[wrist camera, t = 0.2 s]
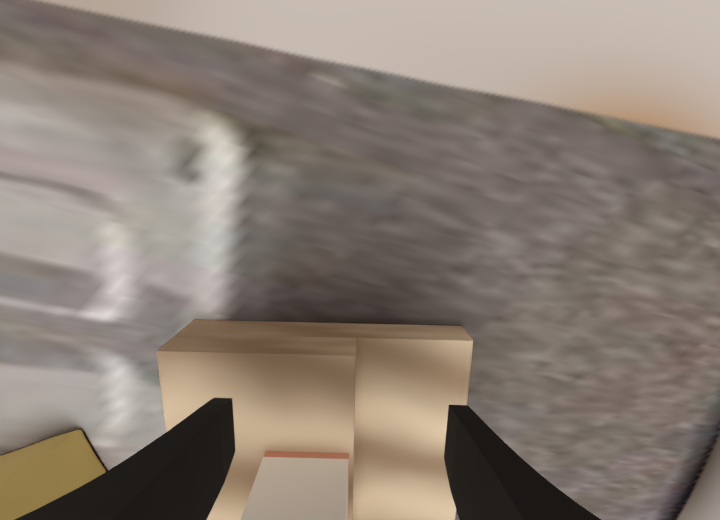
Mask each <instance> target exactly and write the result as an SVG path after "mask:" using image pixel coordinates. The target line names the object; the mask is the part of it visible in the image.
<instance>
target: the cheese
mask: <svg viewBox="0 0 720 520" xmlns="http://www.w3.org/2000/svg"><path fill="white" fill-rule="evenodd" d="M105 472H106V470H105V469H104V467H103V466H102V464H101V463H100V461H99V460H98V458H97V457H96V455H95V453H94V452H93V450H92V448H91V447H90V445H89V443H88V442H87V440H86V438H85V436H84V434H83V432H82V430H75V431H72V432H68V433H65V434H61V435H58V436H55V437H52V438H49V439H46V440H43V441H41V442H38V443H35V444H33V445H30V446H27V447H25V448H22V449H19V450H16V451H14V452H11V453H8V454H4V455H1V456H0V520H15V519H17V518H19V517H21V516H23V515H25V514H28V513H30V512H32V511H34V510H36V509H38V508H40V507H42V506H44V505H46V504H48V503H50V502H52V501H54V500H56V499H58V498H59V497H61V496H63V495H65V494H67V493H69V492H71V491H73V490H75V489H77V488H79V487H81V486H83V485H84V484H86V483H88V482H90V481H91V480H93V479H95V478H97V477H98V476H100V475H102V474H104V473H105Z"/></svg>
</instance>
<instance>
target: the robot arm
mask: <svg viewBox="0 0 720 520" xmlns="http://www.w3.org/2000/svg"><path fill="white" fill-rule="evenodd" d="M234 454H235V435H234V419H233V403H232V398H213V399H211V400H210V401H208V402H207V403H205V404H204V405H203V406H201V407H200V408H199V409H197V410H196V411H195V412H193V413H192V414H191V415H189V416H188V417H187V418H185V419H184V420H183V421H181V422H180V423H178V424H177V425H176V426H174V427H173V428H172V429H170V430H169V431H167V432H166V433H165V434H163V435H162V436H161V437H159V438H158V439H156V440H155V441H153V442H152V443H150V444H149V445H147V446H146V447H144V448H143V449H141V450H140V451H138V452H137V453H135V454H134V455H133V456H131V457H130V458H128V459H126V460H125V461H123V462H122V463H120V464H119V465H117V466H115V467H114V468H112V469H110V470H109V471H107V472H105V473H104V474H102V475H100V476H98V477H97V478H95V479H93V480H91V481H90V482H88V483H86V484H84V485H83V486H81V487H79V488H77V489H75V490H73V491H71V492H69V493H67V494H65V495H63V496H61V497H59V498H58V499H56V500H54V501H52V502H50V503H48V504H46V505H44V506H42V507H40V508H38V509H36V510H34V511H32V512H30V513H28V514H25V515H23V516H21V517H19V518H17V519H15V520H207V518H208V516H209V514H210V512H211V510H212V508H213V505H214V503H215V501H216V499H217V497H218V495H219V493H220V491H221V489H222V487H223V485H224V482H225V479H226V477H227V474H228V471H229V469H230V466H231V463H232V460H233V457H234ZM444 461H445V466H446V471H447V476H448V481H449V485H450V490H451V493H452V497H453V500H454V503H455V506H456V509H457V512H458V516H459V519H460V520H601V519H599V518H598V517H596V516H595V515H593V514H592V513H590V512H589V511H587V510H586V509H585V508H583V507H582V506H580V505H579V504H577V503H576V502H575V501H573V500H572V499H571V498H569V497H568V496H567V495H565V494H564V493H563V492H561V491H560V490H559V489H558V488H556V487H555V486H554V485H552V484H551V483H550V482H549V481H547V480H546V479H545V478H544V477H542V476H541V475H540V474H539V473H538V472H537V471H535V470H534V469H533V468H532V467H531V466H530V465H528V464H527V463H526V462H525V461H524V460H523V459H522V458H521V457H519V456H518V455H517V454H516V453H515V452H514V451H513V450H512V449H511V448H510V447H509V446H508V445H507V444H505V443H504V442H503V441H502V440H501V439H500V438H499V437H498V436H497V435H496V434H495V433H494V432H493V431H492V430H491V429H490V428H489V427H488V426H487V425H486V424H485V423H484V422H483V421H482V420H481V419H480V418H479V417H478V415H477V414H476V413H475V412H474V411H473V410H472V409H471V408H470V407H469V406H468V405H449V408H448V419H447V430H446V440H445V451H444Z"/></svg>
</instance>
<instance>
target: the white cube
mask: <svg viewBox="0 0 720 520" xmlns="http://www.w3.org/2000/svg"><path fill="white" fill-rule="evenodd" d="M348 476H349V453H322V452H284V451H265V453H264V456H263V459H262V462H261V464H260V467H259V470H258V473H257V475H256V478H255V481H254V484H253V486H252V489H251V492H250V495H249V497H248V500H247V503H246V506H245V508H244V511H243V514H242V517H241V519H240V520H348Z"/></svg>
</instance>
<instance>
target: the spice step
mask: <svg viewBox="0 0 720 520" xmlns="http://www.w3.org/2000/svg"><path fill="white" fill-rule="evenodd" d="M472 347H473V340H472V338H471V337H470V335H469V334H468V333H467V331H466V330H465V328H464V327H463V326H441V325H399V324H356V323H313V322H270V321H227V320H193V321H192V322H191V323H190V324H189V325H187V326H186V327H185V328H184V329H183V330H181V331H180V332H179V333H178V334H176V335H175V336H174V337H173V338H172V339H170V340H169V341H168V342H167V343H165V344H164V345H163V346H162V347H161V348H159V349H158V350H157V351H156V353H157V361H158V369H159V377H160V385H161V394H162V402H163V410H164V418H165V426H166V432H167V431H169V430H170V429H172V428H173V427H174V426H176V425H177V424H178V423H180V422H181V421H183V420H184V419H185V418H187V417H188V416H189V415H191V414H192V413H193V412H195V411H196V410H197V409H199V408H200V407H201V406H203V405H204V404H205V403H207V402H208V401H210V400H211V399H213V398H232V403H233V419H234V435H235V454H234V457H233V460H232V463H231V466H230V469H229V471H228V474H227V477H226V479H225V482H224V485H223V487H222V489H221V491H220V493H219V495H218V497H217V499H216V501H215V503H214V505H213V508H212V510H211V512H210V514H209V516H208V518H207V520H240V519H241V517H242V514H243V511H244V508H245V506H246V503H247V500H248V497H249V495H250V492H251V489H252V486H253V484H254V481H255V478H256V475H257V473H258V470H259V467H260V464H261V462H262V459H263V456H264V453H265V451H284V452H322V453H349V476H348V520H455V514H456V506H455V503H454V500H453V497H452V493H451V490H450V485H449V481H448V476H447V471H446V466H445V461H444V451H445V440H446V430H447V419H448V408H449V405H467V396H468V386H469V377H470V367H471V357H472Z"/></svg>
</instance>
